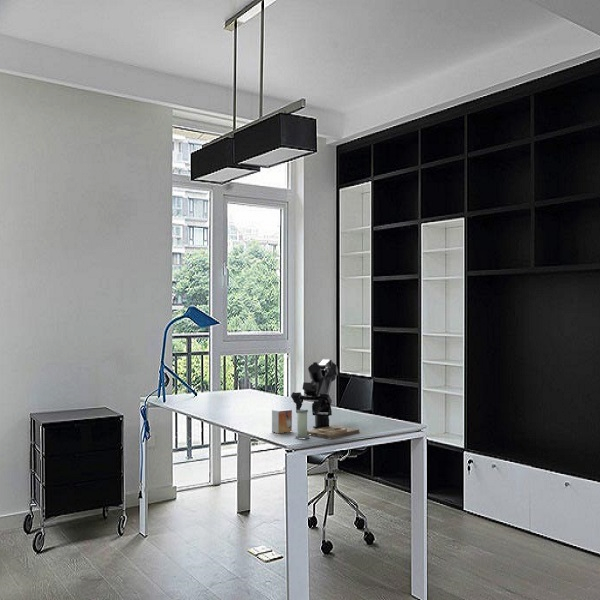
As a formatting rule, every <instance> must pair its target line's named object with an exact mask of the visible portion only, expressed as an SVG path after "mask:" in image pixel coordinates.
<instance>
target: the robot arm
mask: <svg viewBox="0 0 600 600" xmlns="http://www.w3.org/2000/svg"><path fill="white" fill-rule="evenodd" d="M307 371H308V374H309V378H310V380H311V381H310V382H306V381H305V382H302V383H303V384H302V390H303V391H304V394H302V393H301V392H298V391H293V392H291V395H290V397H291V399H292V401H293V403H294V404H295V411H296V414H297V410H301V409H302V407H303V403H304V401H310V402H312V403H311V411H312V416H314V419H315V421H314V426H312V428H313V429H317V428H323V427H328V426H330V418H329V416H332V415H333V414H332V413H333V412H332V411H333V410H332V406H331V405H332V404H333V403H332V402H333V401H332V398H331V396H330V391H331V387H332V382H334V381H335V380H336V379H337V376H338V374H339V369H338V365H337V364H336V363H335V362H334V361H333V359H331V358H323V359H321V361H320V362H319V363H318V361H317V362H315V361H313V363H312V364H310V365H309V366H308V368H307Z"/></svg>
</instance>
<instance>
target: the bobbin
mask: <svg viewBox="0 0 600 600" xmlns="http://www.w3.org/2000/svg"><path fill="white" fill-rule="evenodd" d="M308 412H309V410H308V409H304V408H303V409H302V408H300V410H297V413H296V414H297V417H296V418H297V435H295V437H296V438H309V437H310V436H311V435H307V430H308ZM295 437H294V438H295ZM296 438H295V439H296ZM309 439H310V438H309Z"/></svg>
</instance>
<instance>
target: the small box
mask: <svg viewBox="0 0 600 600" xmlns="http://www.w3.org/2000/svg"><path fill="white" fill-rule="evenodd" d="M292 429H293V410H292V409H288V408H281V409H280V408H279V409H272V410H271V433H274V432H275V434H278V433H279V434H285V433H284V432H287V433H291V432H290V431H292V432H293V430H292Z"/></svg>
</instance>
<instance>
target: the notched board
mask: <svg viewBox="0 0 600 600" xmlns="http://www.w3.org/2000/svg"><path fill="white" fill-rule="evenodd" d="M307 434H311V435H310V436H312V435H315V436H314V437H317V436H320V437H319V438H322V437H326V438H325V439H327V438H332V439H337V438H341V437H345V436H350V435H355V434H360V429H359V428H353V427H347V426H341V425H333V424H332V425H329V426H328V427H323V428H313V429H307Z"/></svg>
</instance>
